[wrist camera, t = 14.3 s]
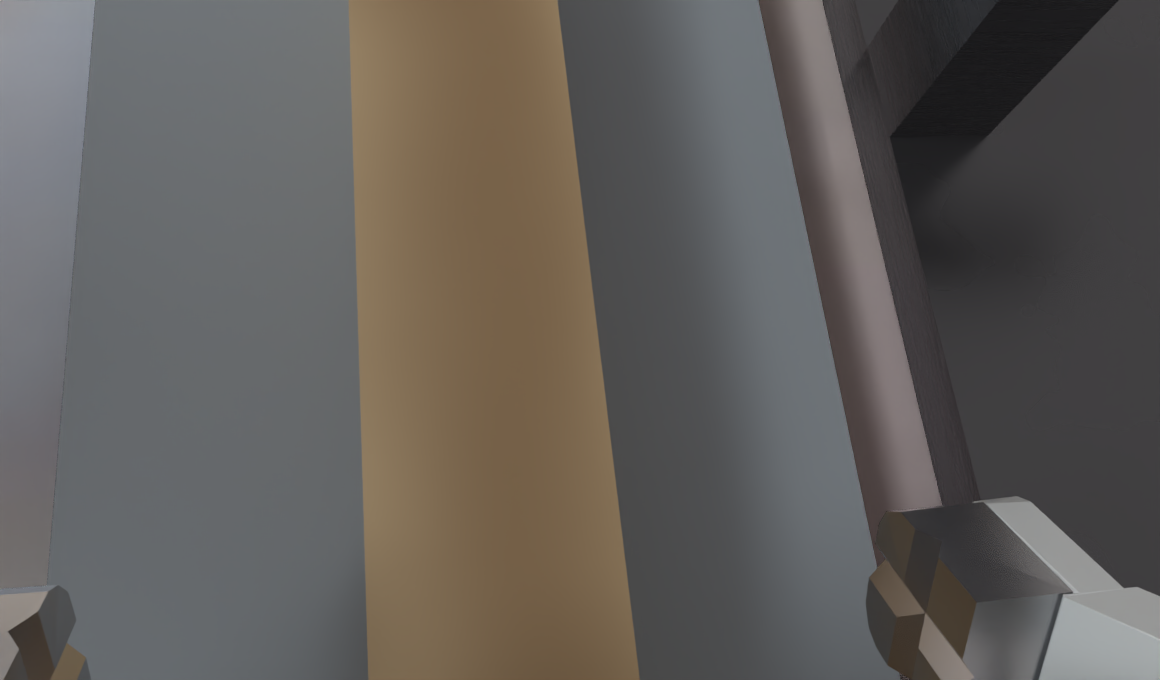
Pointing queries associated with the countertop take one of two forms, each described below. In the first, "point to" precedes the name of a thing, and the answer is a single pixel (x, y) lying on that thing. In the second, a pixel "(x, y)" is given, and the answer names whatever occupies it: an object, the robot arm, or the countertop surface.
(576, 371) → the oak rail
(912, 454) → the countertop surface
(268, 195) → the rubber mat
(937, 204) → the hook stand
